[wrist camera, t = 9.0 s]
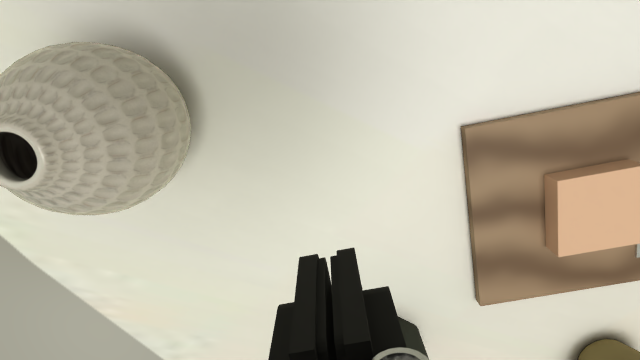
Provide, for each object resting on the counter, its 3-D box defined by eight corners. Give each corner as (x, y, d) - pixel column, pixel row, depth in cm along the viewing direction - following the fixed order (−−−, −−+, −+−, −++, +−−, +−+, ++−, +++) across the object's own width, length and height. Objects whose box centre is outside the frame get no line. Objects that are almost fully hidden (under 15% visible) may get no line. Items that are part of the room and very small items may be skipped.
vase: (228, 80, 36) (153, 96, 20) (187, 197, 39) (96, 290, 23) (94, 22, 34) (-103, -12, 18) (64, 149, 38) (-123, 214, 22)
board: (460, 126, 37) (465, 128, 36) (684, 83, 36) (696, 83, 35) (476, 299, 43) (480, 306, 42) (669, 267, 42) (678, 273, 40)
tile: (557, 181, 35) (647, 164, 35) (543, 174, 37) (628, 158, 37) (558, 257, 37) (642, 243, 37) (545, 246, 40) (624, 233, 39)
